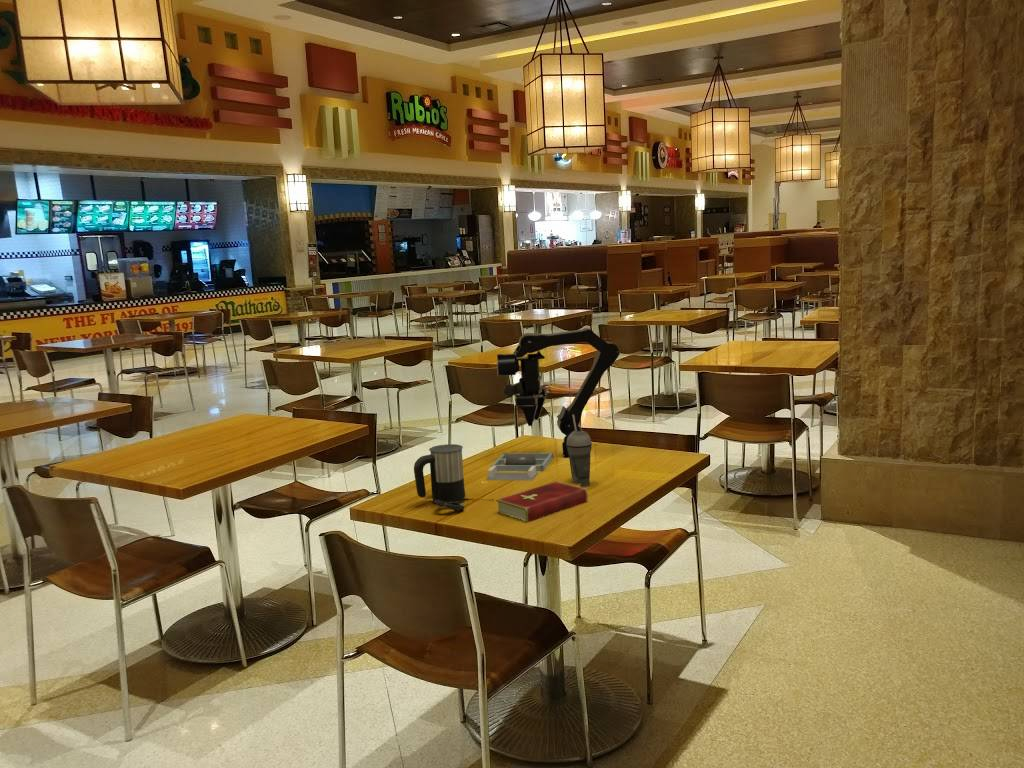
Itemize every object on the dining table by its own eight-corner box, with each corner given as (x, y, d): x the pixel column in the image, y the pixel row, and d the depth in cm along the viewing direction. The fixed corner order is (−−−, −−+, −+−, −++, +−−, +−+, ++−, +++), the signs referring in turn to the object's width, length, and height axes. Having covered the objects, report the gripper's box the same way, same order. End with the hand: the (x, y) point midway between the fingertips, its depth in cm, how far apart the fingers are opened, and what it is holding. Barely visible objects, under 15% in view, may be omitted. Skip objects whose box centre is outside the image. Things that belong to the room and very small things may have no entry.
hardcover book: (587, 503, 217) (587, 487, 216) (527, 524, 204) (526, 507, 203) (556, 495, 226) (555, 480, 225) (496, 514, 213) (495, 498, 212)
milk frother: (452, 493, 232) (448, 442, 230) (489, 503, 221) (486, 449, 218) (411, 506, 223) (406, 452, 220) (448, 517, 211) (443, 461, 209)
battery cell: (536, 466, 252) (534, 453, 251) (533, 471, 249) (532, 458, 247) (507, 465, 255) (506, 453, 253) (504, 471, 251) (503, 458, 250)
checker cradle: (538, 475, 244) (538, 464, 244) (532, 483, 237) (532, 472, 236) (493, 475, 248) (492, 464, 247) (485, 483, 240) (484, 471, 240)
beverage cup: (592, 488, 228) (589, 417, 225) (566, 488, 230) (562, 417, 227) (595, 480, 235) (592, 411, 232) (570, 480, 237) (566, 412, 234)
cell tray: (553, 460, 260) (553, 453, 260) (543, 474, 246) (542, 466, 245) (504, 460, 264) (503, 453, 264) (491, 474, 250) (490, 465, 249)
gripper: (512, 369, 270) (515, 416, 272) (497, 379, 252) (501, 429, 254) (546, 368, 267) (548, 416, 269) (533, 378, 249) (536, 429, 252)
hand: (533, 422), depth 261 cm, fingers open, 9 cm apart
